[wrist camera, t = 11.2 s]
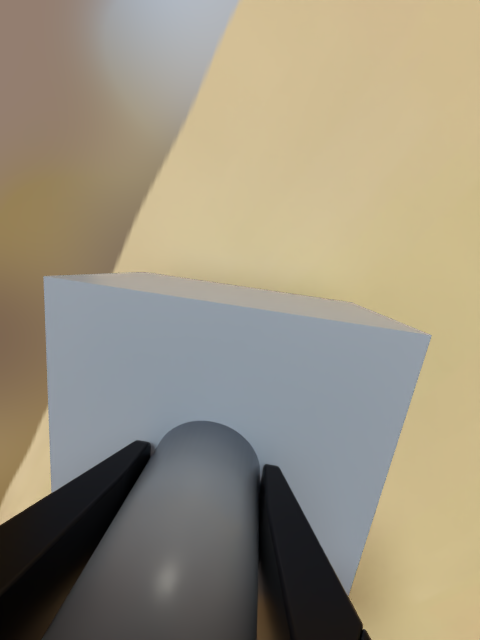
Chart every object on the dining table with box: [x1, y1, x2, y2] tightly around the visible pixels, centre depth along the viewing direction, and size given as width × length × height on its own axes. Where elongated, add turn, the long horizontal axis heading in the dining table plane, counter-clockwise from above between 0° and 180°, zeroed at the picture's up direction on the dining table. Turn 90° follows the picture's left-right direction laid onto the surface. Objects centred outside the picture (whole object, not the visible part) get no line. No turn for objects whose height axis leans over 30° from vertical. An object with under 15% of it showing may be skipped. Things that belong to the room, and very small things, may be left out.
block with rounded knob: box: [41, 272, 432, 640], centre depth 8 cm, size 10×10×10 cm
